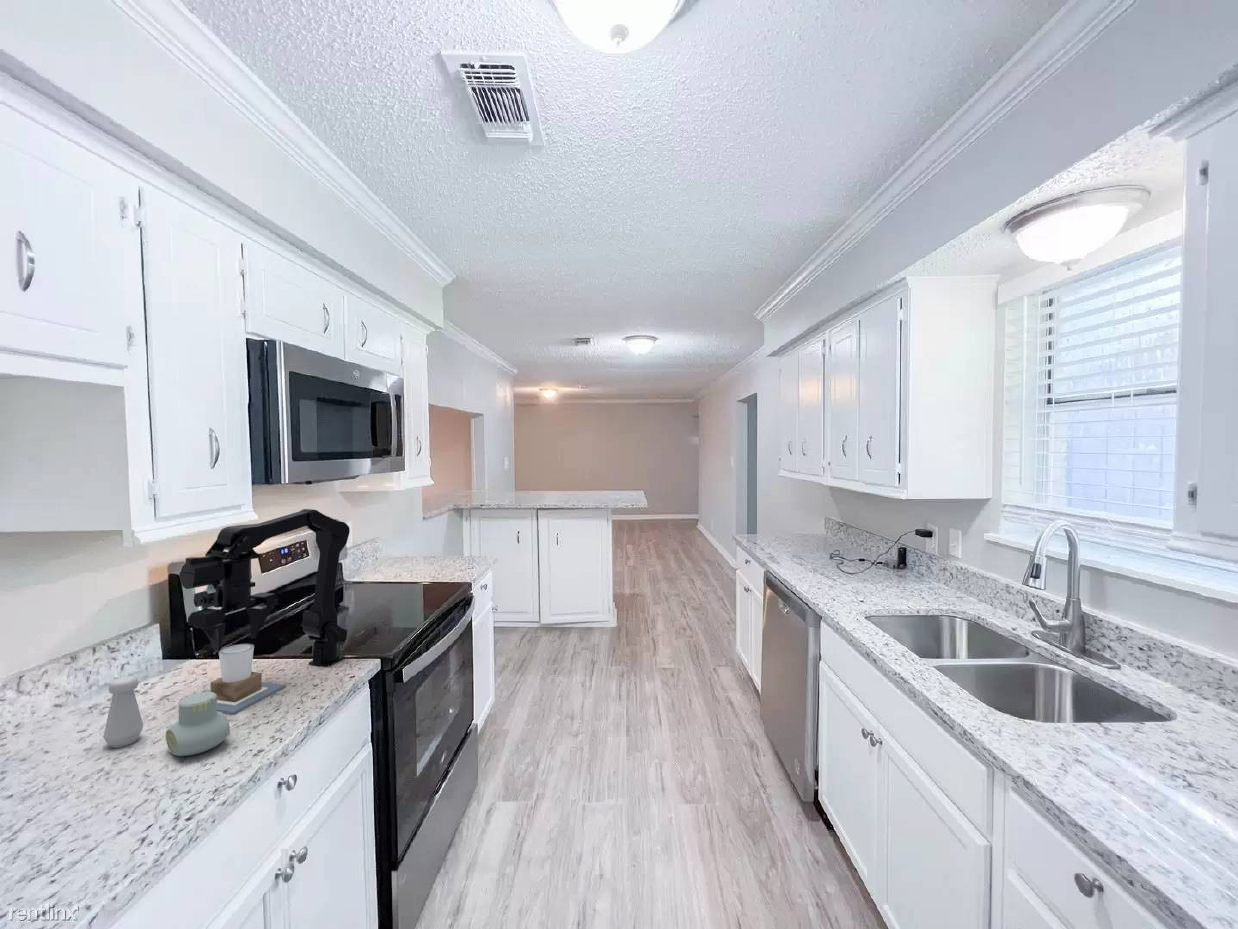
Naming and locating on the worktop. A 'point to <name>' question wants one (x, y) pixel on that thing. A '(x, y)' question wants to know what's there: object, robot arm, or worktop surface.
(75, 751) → the worktop surface
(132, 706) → the salt shaker
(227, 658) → the white cup
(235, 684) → the walnut block
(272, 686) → the board
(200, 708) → the air freshener
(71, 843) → the worktop surface
